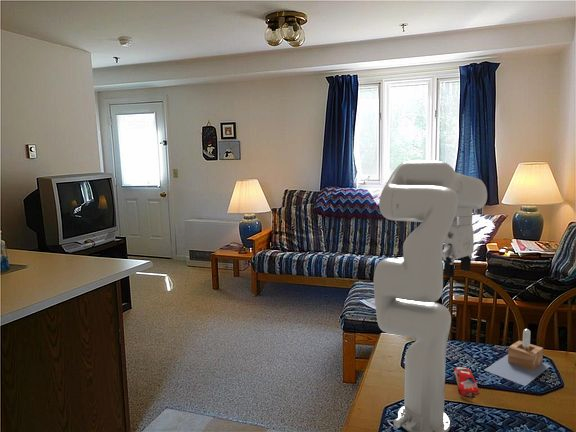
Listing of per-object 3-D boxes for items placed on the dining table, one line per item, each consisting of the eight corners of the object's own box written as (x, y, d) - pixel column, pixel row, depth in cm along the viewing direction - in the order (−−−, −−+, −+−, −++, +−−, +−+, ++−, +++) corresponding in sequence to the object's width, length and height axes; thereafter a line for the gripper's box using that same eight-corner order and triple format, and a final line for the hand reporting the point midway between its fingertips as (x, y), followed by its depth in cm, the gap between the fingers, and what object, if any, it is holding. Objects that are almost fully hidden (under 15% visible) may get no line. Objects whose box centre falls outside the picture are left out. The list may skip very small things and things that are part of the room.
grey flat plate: (524, 390, 122) (525, 386, 121) (483, 373, 131) (483, 369, 131) (550, 369, 133) (551, 365, 132) (511, 355, 142) (511, 351, 142)
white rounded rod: (526, 364, 133) (529, 331, 132) (520, 362, 135) (522, 329, 133) (529, 362, 134) (531, 329, 133) (523, 360, 136) (525, 327, 134)
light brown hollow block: (532, 370, 130) (533, 355, 129) (507, 361, 135) (508, 346, 134) (542, 363, 134) (543, 347, 133) (518, 354, 140) (519, 340, 139)
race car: (480, 401, 117) (481, 387, 117) (459, 399, 119) (459, 385, 118) (471, 376, 130) (472, 364, 129) (452, 374, 131) (453, 362, 131)
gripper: (455, 225, 128) (453, 281, 130) (484, 218, 138) (482, 270, 141) (432, 222, 134) (431, 276, 136) (462, 216, 144) (460, 266, 147)
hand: (457, 273), depth 138 cm, fingers open, 9 cm apart
